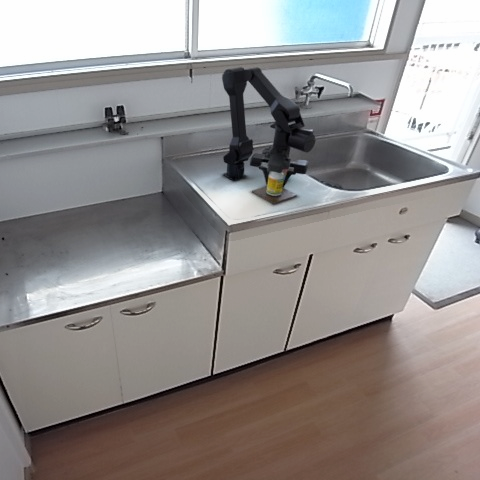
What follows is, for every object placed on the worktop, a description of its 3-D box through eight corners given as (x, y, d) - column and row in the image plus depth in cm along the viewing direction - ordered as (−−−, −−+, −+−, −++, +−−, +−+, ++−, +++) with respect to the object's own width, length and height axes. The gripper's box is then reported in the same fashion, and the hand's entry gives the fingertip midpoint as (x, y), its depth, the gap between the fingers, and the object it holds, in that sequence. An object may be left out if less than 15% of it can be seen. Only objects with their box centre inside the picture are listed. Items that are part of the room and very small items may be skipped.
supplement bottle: (271, 188, 143) (275, 163, 138) (284, 192, 140) (289, 167, 134) (263, 192, 140) (266, 167, 135) (276, 197, 137) (280, 172, 131)
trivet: (251, 192, 142) (252, 190, 142) (274, 185, 147) (274, 183, 146) (273, 204, 134) (273, 203, 134) (296, 196, 139) (296, 195, 139)
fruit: (265, 135, 165) (268, 147, 153) (284, 142, 166) (288, 154, 153) (256, 153, 170) (258, 167, 158) (274, 160, 170) (277, 174, 158)
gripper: (248, 147, 127) (243, 190, 136) (307, 156, 121) (298, 200, 129) (256, 136, 136) (251, 178, 144) (312, 144, 129) (303, 187, 138)
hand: (275, 185), depth 139 cm, fingers closed on supplement bottle, 5 cm apart
